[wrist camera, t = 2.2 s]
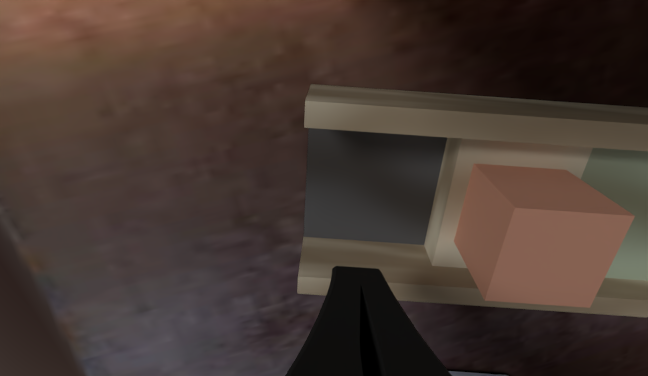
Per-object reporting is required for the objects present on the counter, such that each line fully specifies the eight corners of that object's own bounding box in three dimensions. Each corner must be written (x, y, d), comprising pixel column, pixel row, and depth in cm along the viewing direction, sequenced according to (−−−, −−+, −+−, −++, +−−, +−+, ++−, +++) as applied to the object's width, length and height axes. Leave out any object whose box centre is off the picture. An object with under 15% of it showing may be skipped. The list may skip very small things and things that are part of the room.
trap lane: (778, 282, 20) (859, 331, 17) (303, 250, 20) (297, 293, 17) (897, 125, 17) (1030, 151, 13) (311, 84, 16) (305, 100, 13)
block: (537, 247, 17) (589, 307, 14) (453, 241, 17) (484, 300, 14) (566, 169, 16) (634, 216, 12) (473, 163, 16) (514, 207, 12)
